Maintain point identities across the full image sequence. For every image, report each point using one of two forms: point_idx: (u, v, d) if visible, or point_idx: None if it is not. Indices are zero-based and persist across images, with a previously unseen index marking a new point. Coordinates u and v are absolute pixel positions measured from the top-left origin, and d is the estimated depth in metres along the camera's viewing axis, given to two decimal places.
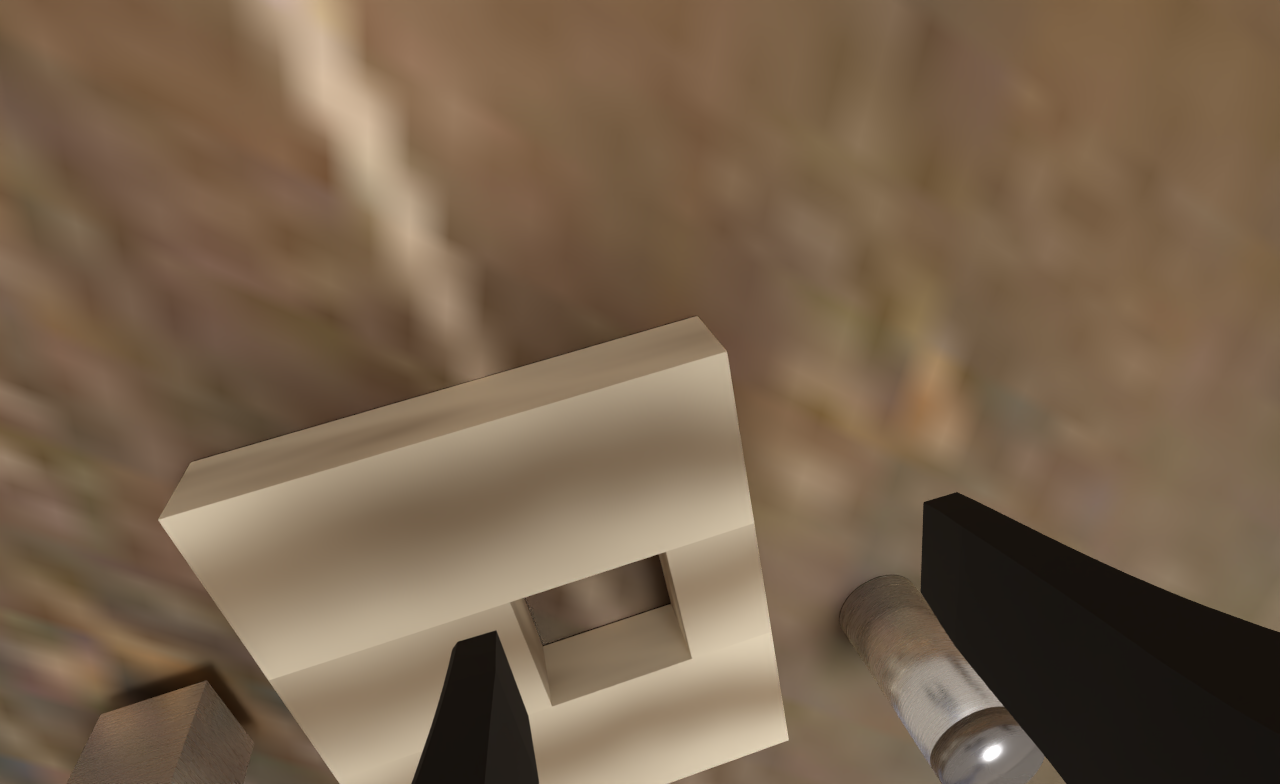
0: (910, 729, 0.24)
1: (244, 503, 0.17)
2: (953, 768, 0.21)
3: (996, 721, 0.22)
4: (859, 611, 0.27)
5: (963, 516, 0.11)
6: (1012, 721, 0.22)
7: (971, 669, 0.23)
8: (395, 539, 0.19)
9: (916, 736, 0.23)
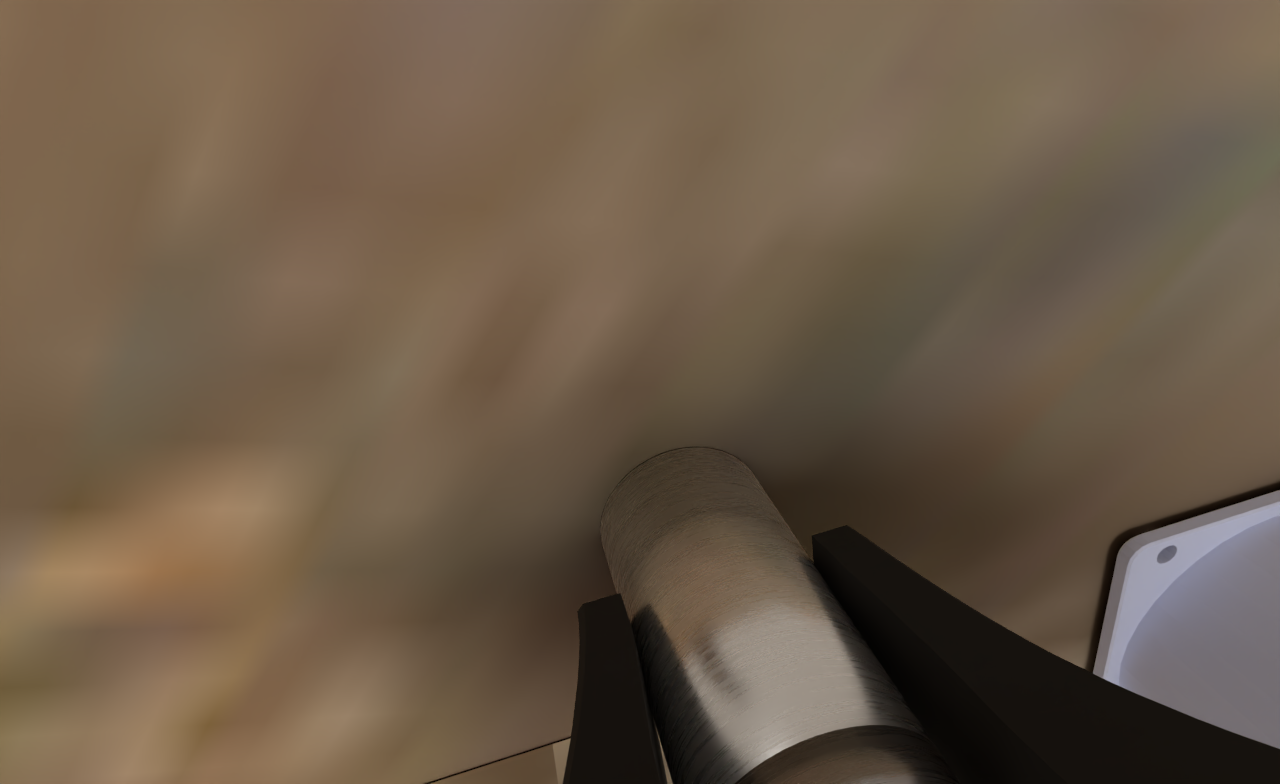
0: None
1: None
2: None
3: None
4: None
5: (845, 552, 0.11)
6: None
7: (671, 712, 0.09)
8: None
9: None
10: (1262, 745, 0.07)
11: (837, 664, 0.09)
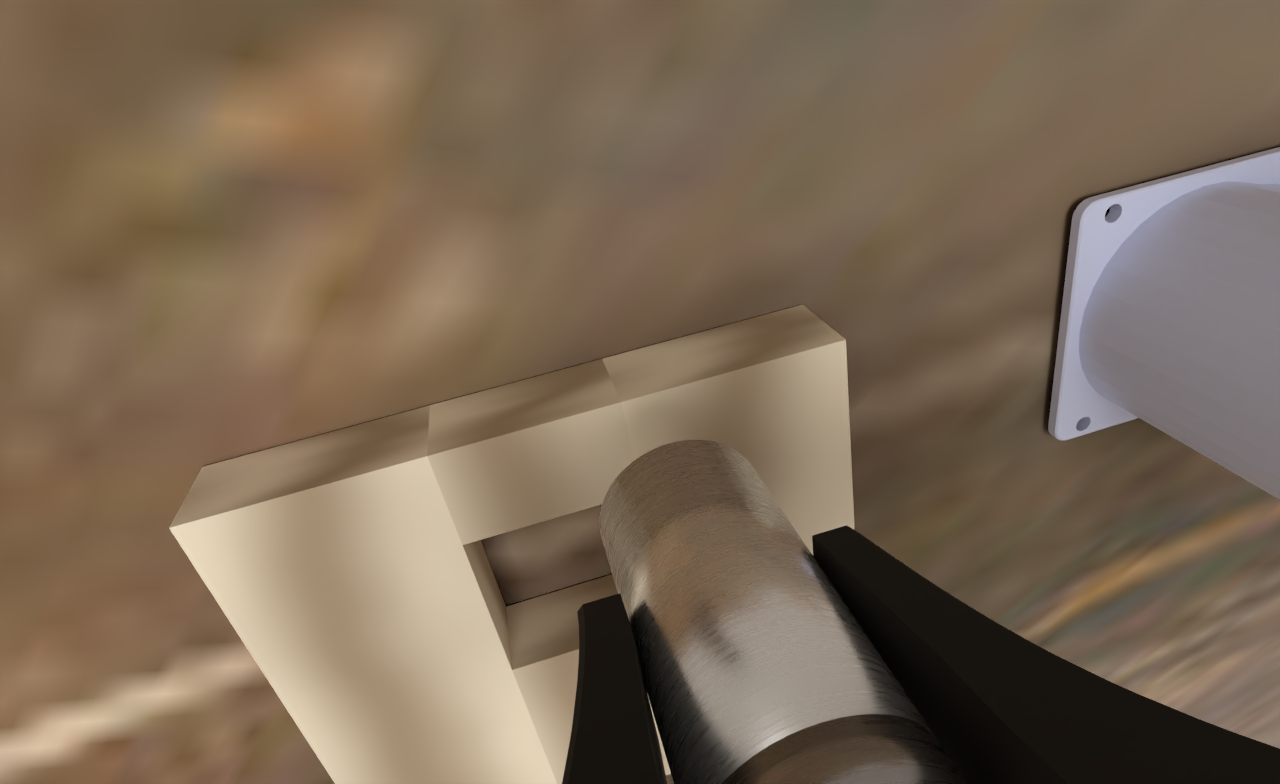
0: None
1: None
2: None
3: None
4: None
5: (845, 552, 0.11)
6: None
7: (671, 698, 0.09)
8: (421, 753, 0.21)
9: None
10: (1262, 745, 0.07)
11: (841, 654, 0.09)
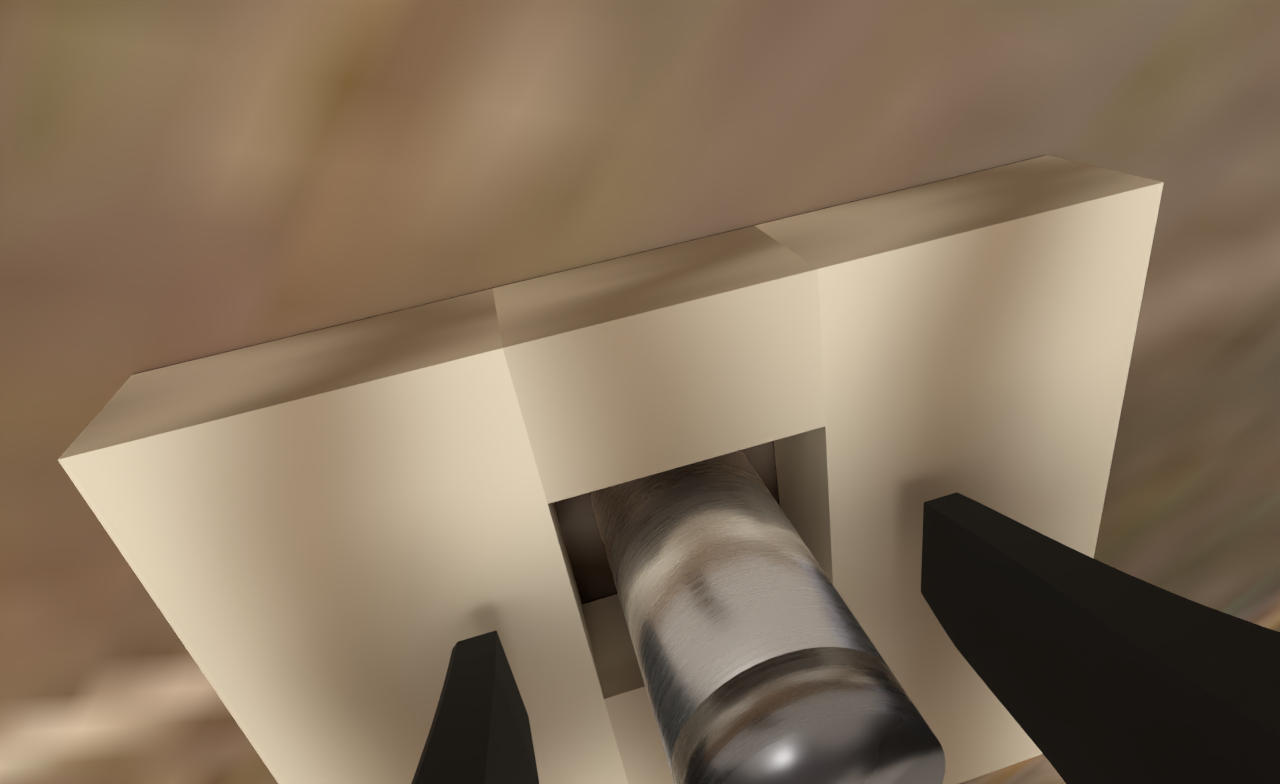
0: None
1: None
2: None
3: None
4: None
5: (963, 516, 0.11)
6: (694, 770, 0.08)
7: (653, 639, 0.10)
8: None
9: None
10: None
11: (808, 597, 0.10)
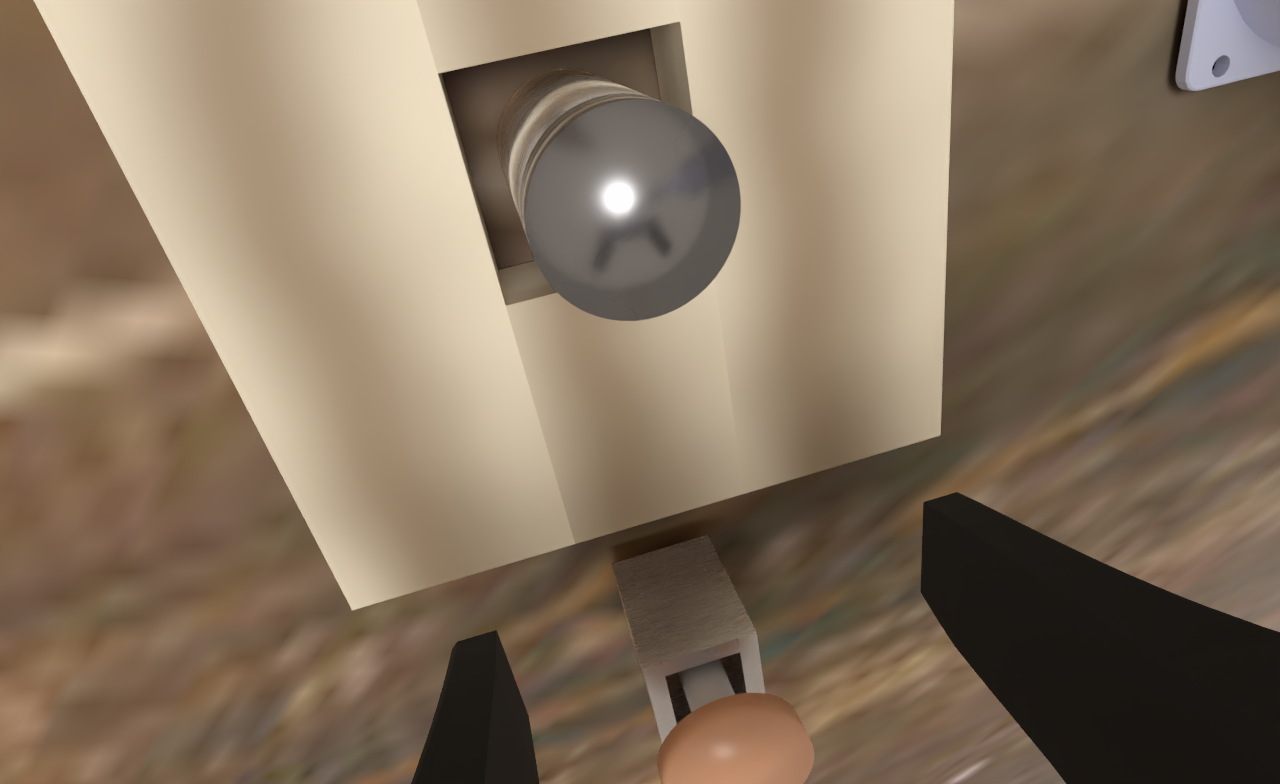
0: None
1: (333, 550, 0.17)
2: (596, 313, 0.11)
3: (523, 209, 0.11)
4: None
5: (963, 516, 0.11)
6: (527, 176, 0.10)
7: (517, 150, 0.12)
8: (388, 427, 0.16)
9: None
10: None
11: None
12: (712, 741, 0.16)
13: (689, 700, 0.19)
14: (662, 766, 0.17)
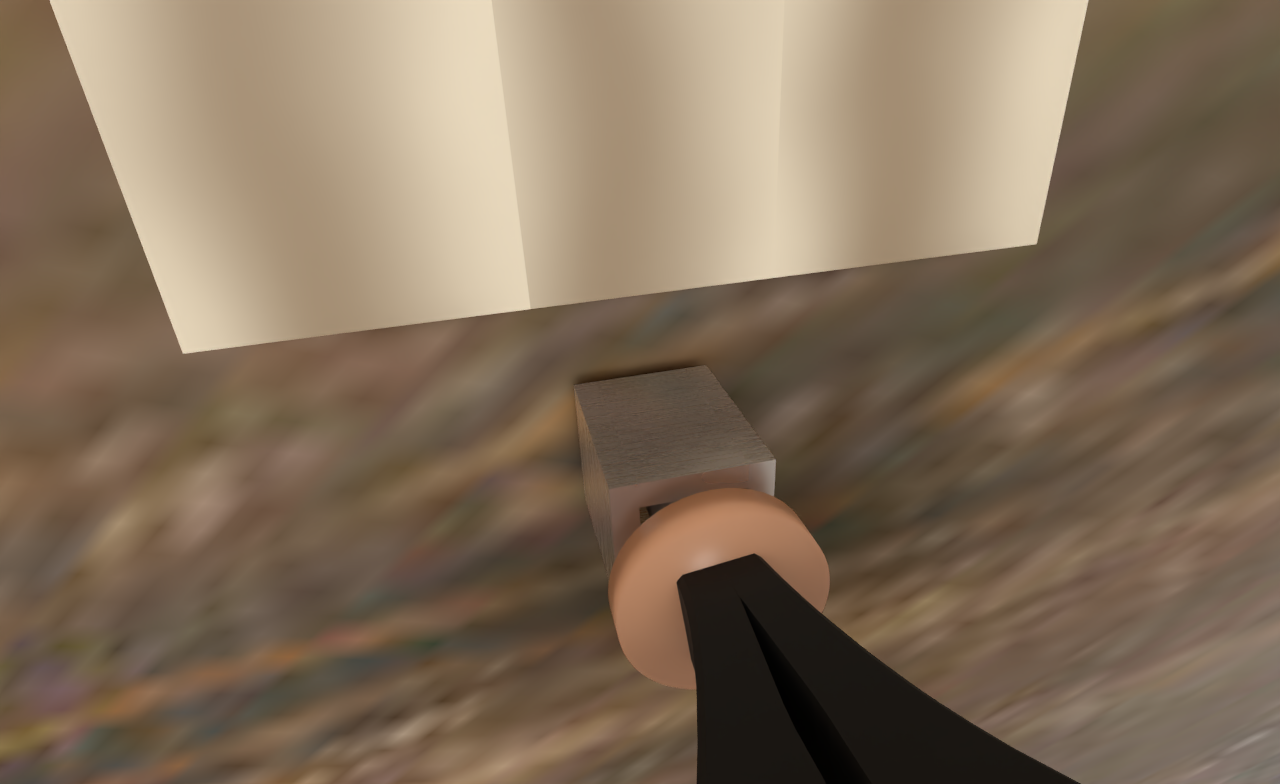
0: None
1: (158, 240, 0.11)
2: None
3: None
4: None
5: (746, 582, 0.11)
6: None
7: None
8: (262, 29, 0.10)
9: None
10: None
11: None
12: (695, 538, 0.11)
13: None
14: (617, 580, 0.12)
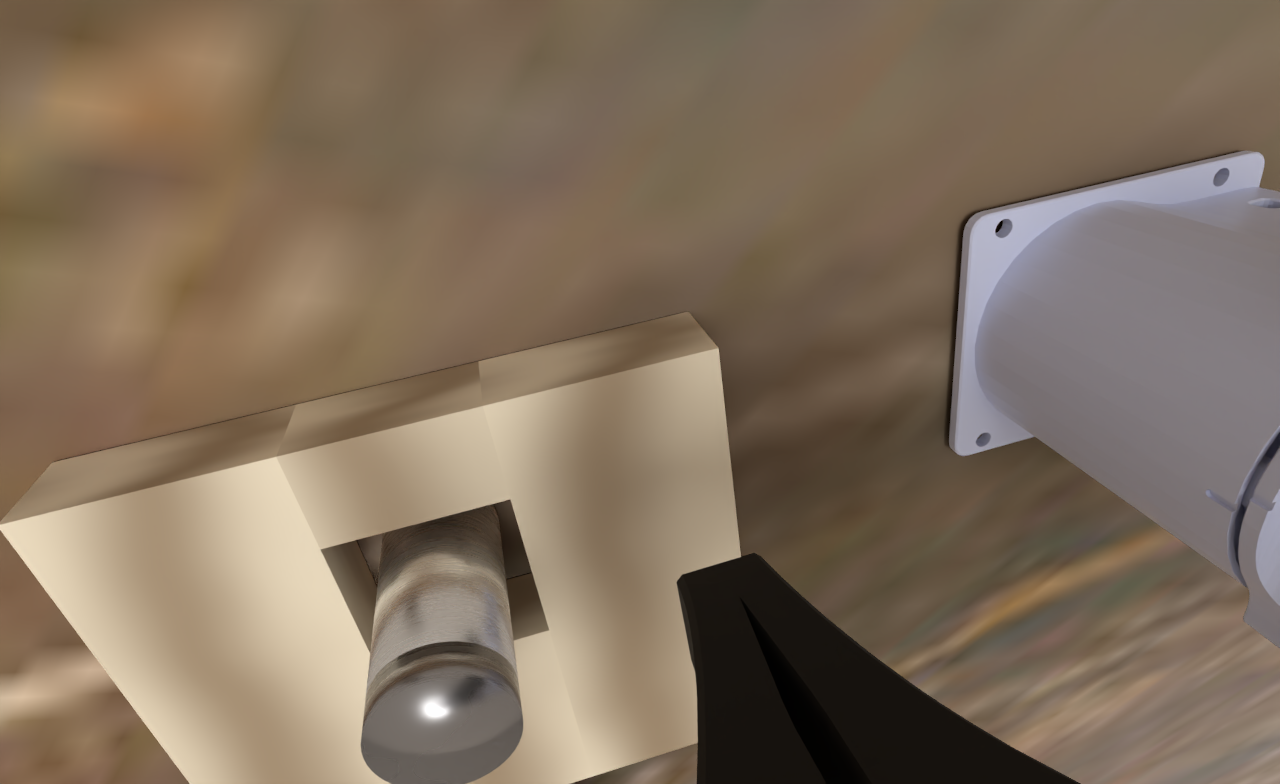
0: None
1: None
2: None
3: None
4: None
5: (745, 582, 0.11)
6: (364, 713, 0.15)
7: (373, 637, 0.16)
8: (289, 762, 0.20)
9: None
10: None
11: (460, 612, 0.16)
12: None
13: None
14: None
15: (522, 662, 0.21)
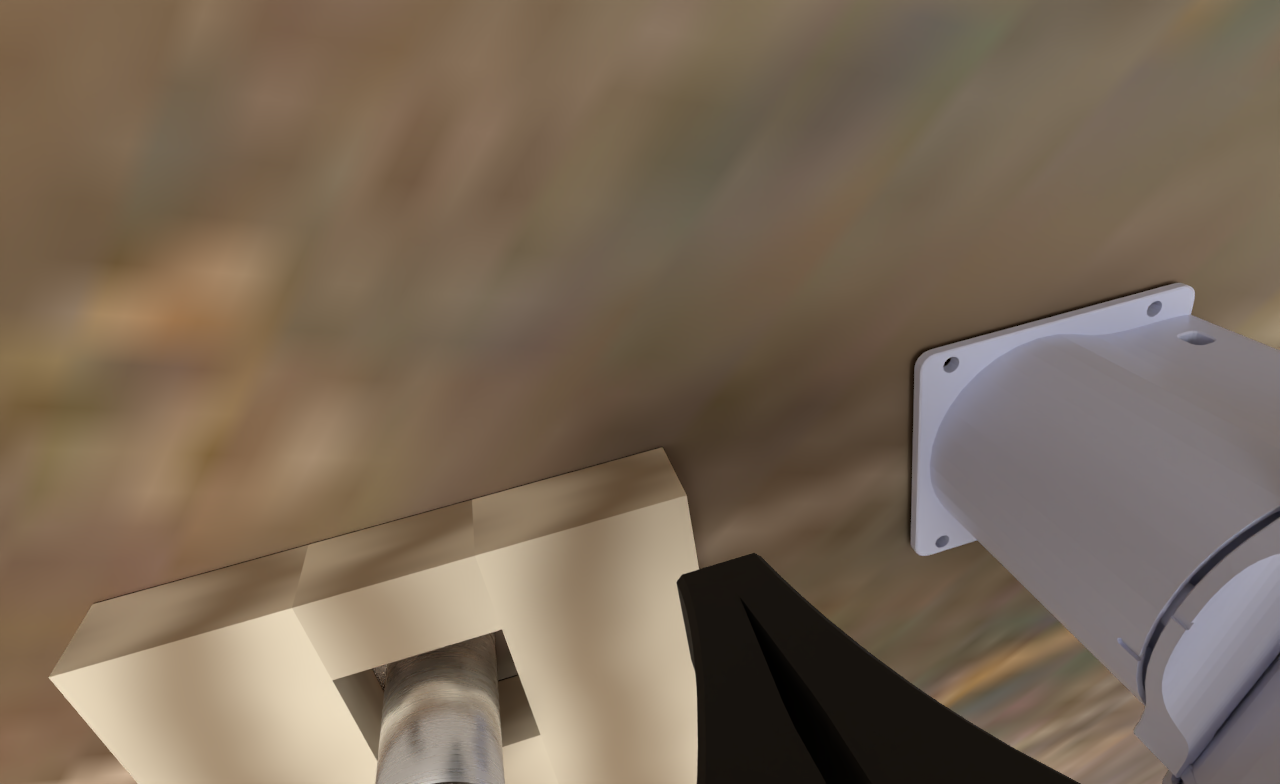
0: None
1: None
2: None
3: None
4: None
5: (746, 582, 0.11)
6: None
7: (378, 767, 0.18)
8: None
9: None
10: None
11: (453, 748, 0.18)
12: None
13: None
14: None
15: (516, 763, 0.23)
